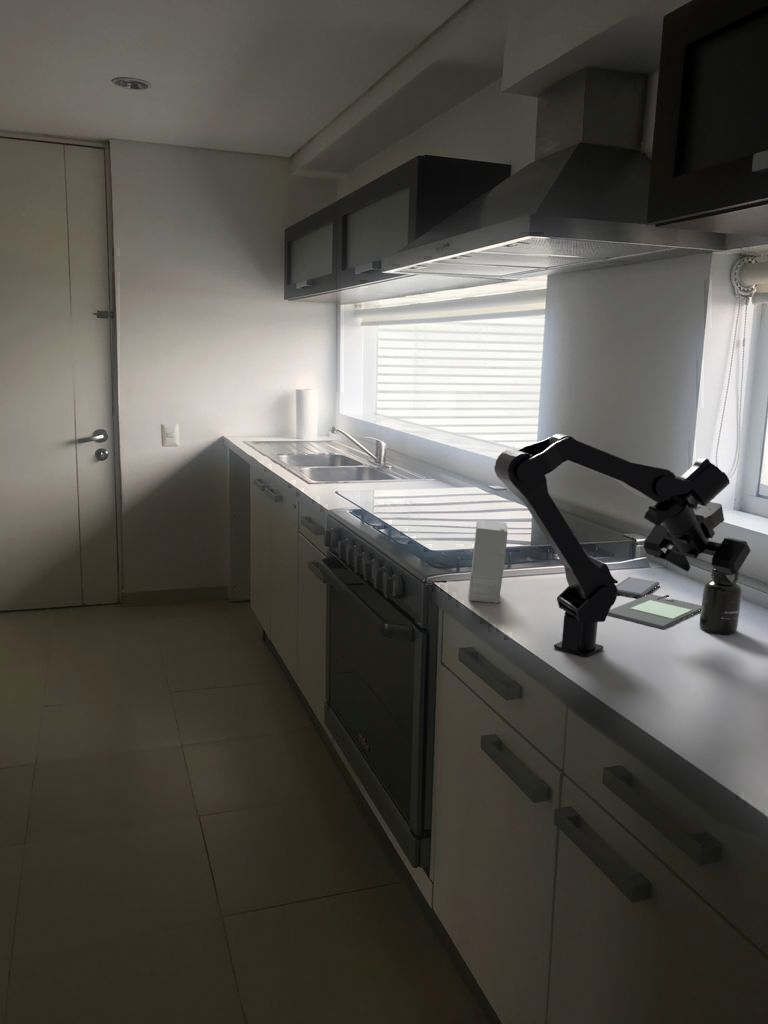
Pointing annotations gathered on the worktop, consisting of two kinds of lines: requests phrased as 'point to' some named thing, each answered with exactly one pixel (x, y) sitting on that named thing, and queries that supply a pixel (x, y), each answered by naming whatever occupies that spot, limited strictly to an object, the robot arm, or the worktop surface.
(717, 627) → the supplement bottle
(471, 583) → the skincare box
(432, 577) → the worktop surface
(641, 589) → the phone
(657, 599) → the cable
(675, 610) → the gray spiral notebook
